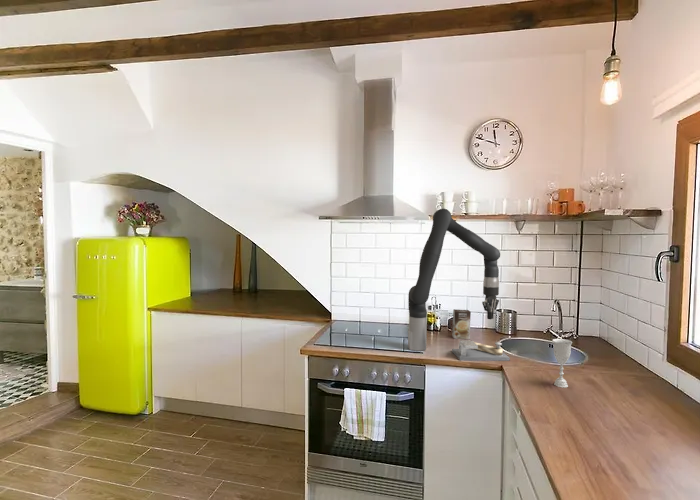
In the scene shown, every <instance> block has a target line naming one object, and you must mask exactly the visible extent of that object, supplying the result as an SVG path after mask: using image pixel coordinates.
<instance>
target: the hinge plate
mask: <svg viewBox="0 0 700 500" xmlns="http://www.w3.org/2000/svg"><path fill="white" fill-rule="evenodd" d="M494 344H495V345H496V348H497V349H500V348H501V346H502V345H503V343H502V342H499V341H496V342H495V343H494ZM451 352H452V353H453V354H454V355H455V356H456V358H458V360H459V361H471V362H472V361H474V362H475V361H477V362H478V361H491V362H492V361H496V362H497V361H498V362H499V361H502V362H504V361H509V362H510V359H511V358H510V356H508V355H507V354H506V353H505V352H503V355H495V354H493V353H489V352H485V351H481V350H477V349H466V356H461V355H460V354H459V348H451Z"/></svg>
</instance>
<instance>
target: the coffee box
mask: <svg viewBox="0 0 700 500" xmlns="http://www.w3.org/2000/svg"><path fill="white" fill-rule="evenodd" d="M452 311H453V312H452V335H451V336H452V338H453V339H457V340H459V339H460V340H470V339H471V311H470V310H468V309H453V310H452Z"/></svg>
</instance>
